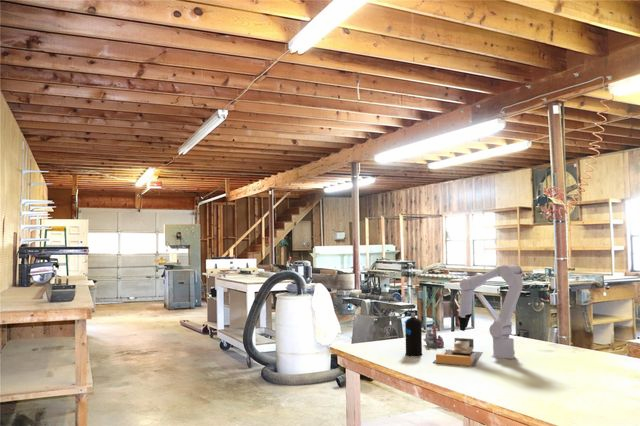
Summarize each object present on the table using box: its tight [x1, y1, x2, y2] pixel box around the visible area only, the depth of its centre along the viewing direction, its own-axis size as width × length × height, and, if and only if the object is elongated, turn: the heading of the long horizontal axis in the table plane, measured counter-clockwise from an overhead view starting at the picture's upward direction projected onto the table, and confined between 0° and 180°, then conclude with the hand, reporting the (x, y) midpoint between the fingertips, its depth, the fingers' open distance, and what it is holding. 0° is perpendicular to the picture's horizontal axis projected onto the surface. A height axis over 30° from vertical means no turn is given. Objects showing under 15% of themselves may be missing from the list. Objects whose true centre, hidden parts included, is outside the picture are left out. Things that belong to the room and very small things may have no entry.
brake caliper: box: [422, 324, 445, 348], centre depth 262 cm, size 11×11×12 cm
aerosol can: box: [404, 312, 424, 357], centre depth 242 cm, size 8×8×20 cm
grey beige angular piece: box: [450, 337, 475, 356], centre depth 244 cm, size 9×12×6 cm
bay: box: [432, 348, 484, 368], centre depth 235 cm, size 18×31×4 cm, turn 155°
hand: (463, 328), depth 254 cm, fingers open, 7 cm apart
